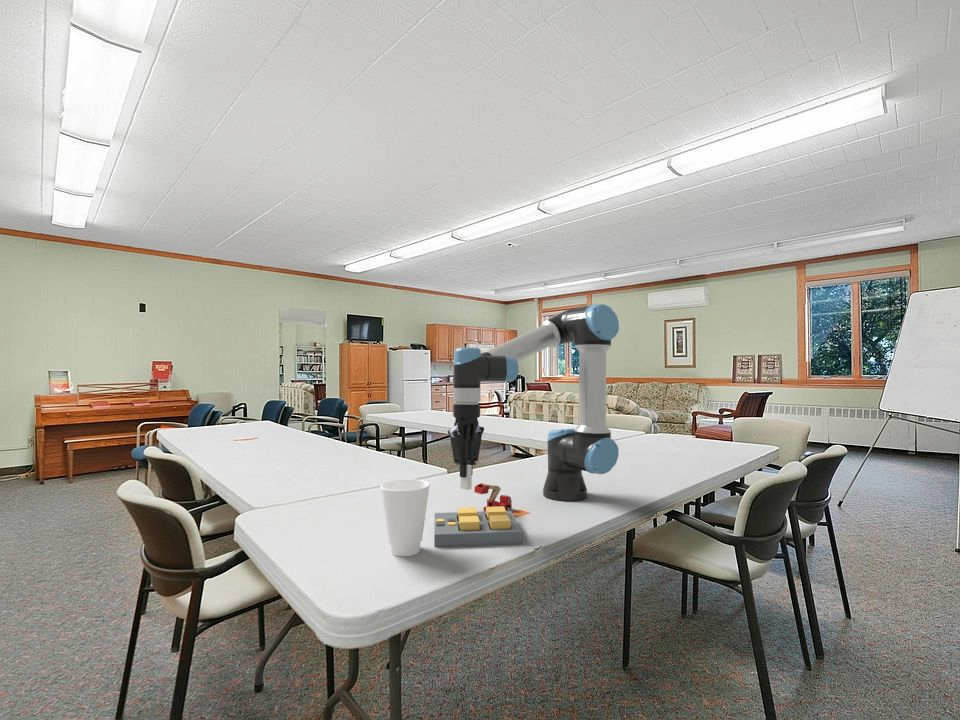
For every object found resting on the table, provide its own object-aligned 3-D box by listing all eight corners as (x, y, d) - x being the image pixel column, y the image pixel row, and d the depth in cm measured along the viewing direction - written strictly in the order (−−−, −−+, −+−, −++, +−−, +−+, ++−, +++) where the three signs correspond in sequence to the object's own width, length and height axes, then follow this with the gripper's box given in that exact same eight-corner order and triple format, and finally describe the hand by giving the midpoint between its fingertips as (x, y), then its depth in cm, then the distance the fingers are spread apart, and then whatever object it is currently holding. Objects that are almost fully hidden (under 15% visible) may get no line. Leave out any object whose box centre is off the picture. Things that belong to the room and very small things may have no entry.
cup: (386, 564, 108) (386, 493, 109) (375, 546, 119) (375, 481, 119) (436, 555, 113) (436, 487, 113) (421, 539, 124) (421, 477, 124)
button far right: (475, 518, 135) (475, 507, 135) (477, 524, 130) (477, 512, 130) (457, 519, 135) (457, 507, 135) (458, 524, 130) (458, 513, 130)
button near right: (478, 527, 127) (478, 515, 127) (479, 534, 122) (479, 521, 122) (459, 528, 127) (459, 516, 127) (460, 535, 122) (460, 522, 122)
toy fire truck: (513, 510, 150) (512, 478, 150) (482, 519, 140) (481, 486, 140) (505, 507, 152) (505, 477, 152) (474, 517, 143) (473, 484, 143)
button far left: (503, 517, 136) (503, 506, 136) (506, 523, 131) (506, 511, 131) (486, 518, 135) (486, 506, 136) (488, 523, 130) (488, 512, 131)
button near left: (507, 526, 128) (507, 514, 128) (510, 533, 123) (510, 520, 123) (489, 527, 128) (489, 515, 128) (491, 533, 123) (491, 521, 123)
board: (511, 521, 139) (511, 509, 139) (522, 543, 121) (522, 530, 121) (434, 523, 137) (434, 511, 137) (434, 546, 119) (434, 533, 119)
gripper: (471, 401, 141) (471, 482, 140) (440, 403, 131) (439, 490, 130) (491, 402, 136) (491, 486, 135) (461, 404, 126) (460, 495, 125)
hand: (466, 488), depth 133 cm, fingers closed
